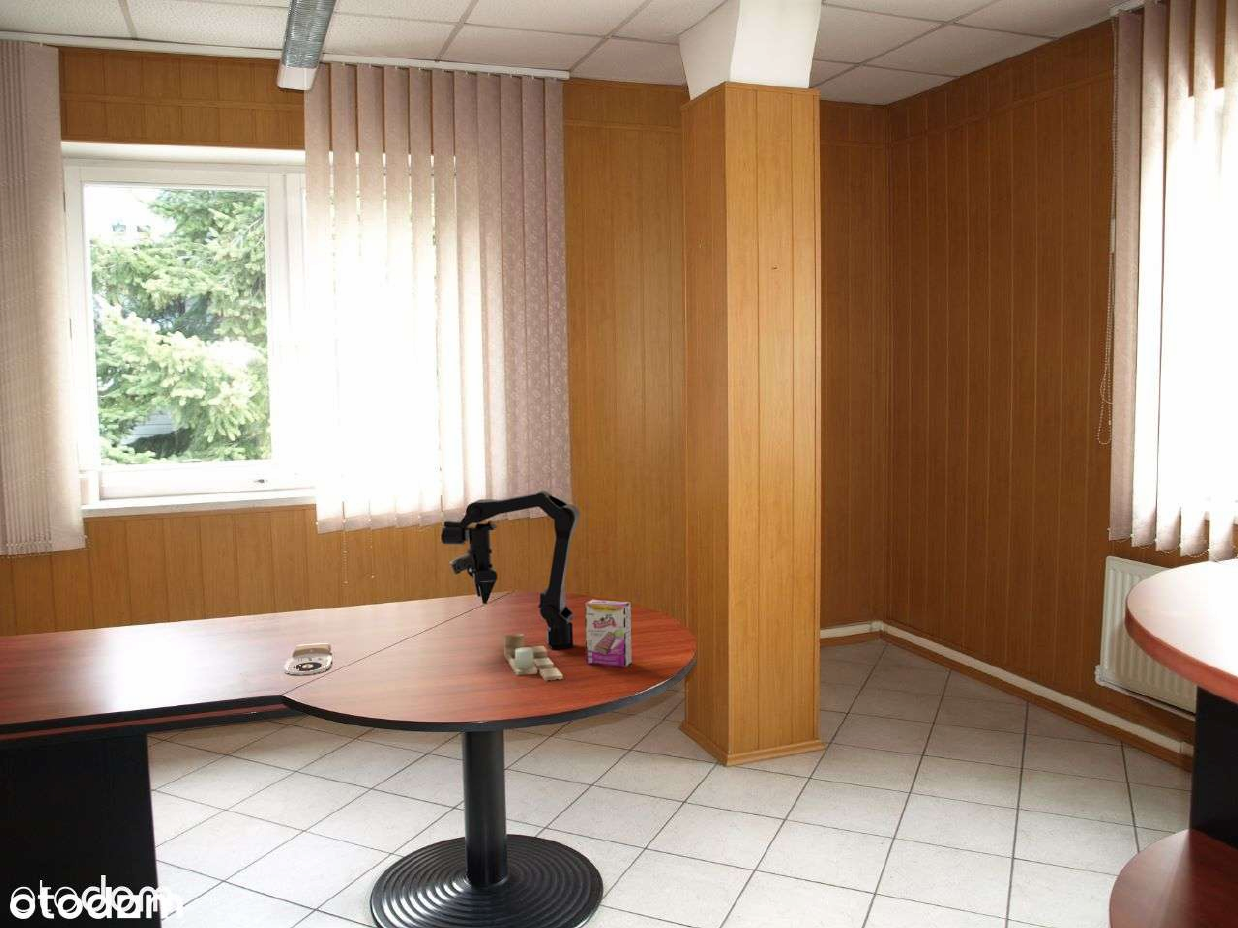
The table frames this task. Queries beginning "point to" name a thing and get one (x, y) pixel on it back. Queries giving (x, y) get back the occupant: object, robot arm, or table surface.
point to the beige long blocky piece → (509, 651)
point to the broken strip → (545, 664)
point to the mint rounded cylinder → (524, 658)
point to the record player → (310, 658)
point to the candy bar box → (608, 633)
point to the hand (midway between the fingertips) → (482, 600)
